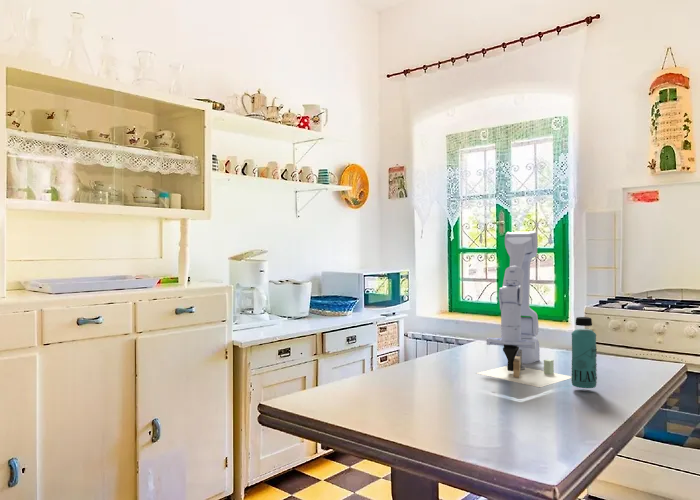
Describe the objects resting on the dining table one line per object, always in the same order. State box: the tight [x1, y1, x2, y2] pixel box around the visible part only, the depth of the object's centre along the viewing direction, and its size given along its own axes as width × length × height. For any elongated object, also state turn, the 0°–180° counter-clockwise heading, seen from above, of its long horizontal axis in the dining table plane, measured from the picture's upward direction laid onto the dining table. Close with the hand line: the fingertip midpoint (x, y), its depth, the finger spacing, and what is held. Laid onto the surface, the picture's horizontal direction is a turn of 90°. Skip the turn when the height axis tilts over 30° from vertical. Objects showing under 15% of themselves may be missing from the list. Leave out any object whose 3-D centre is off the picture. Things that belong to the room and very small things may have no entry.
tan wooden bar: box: [513, 356, 520, 377], centre depth 165 cm, size 11×2×4 cm, turn 161°
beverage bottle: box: [570, 316, 598, 389], centre depth 149 cm, size 6×7×20 cm
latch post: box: [543, 358, 555, 374], centre depth 166 cm, size 2×2×5 cm
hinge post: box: [514, 349, 525, 370], centre depth 172 cm, size 4×4×7 cm
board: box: [476, 365, 572, 388], centre depth 164 cm, size 18×22×1 cm
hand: (511, 370), depth 166 cm, fingers closed, pressing on tan wooden bar
